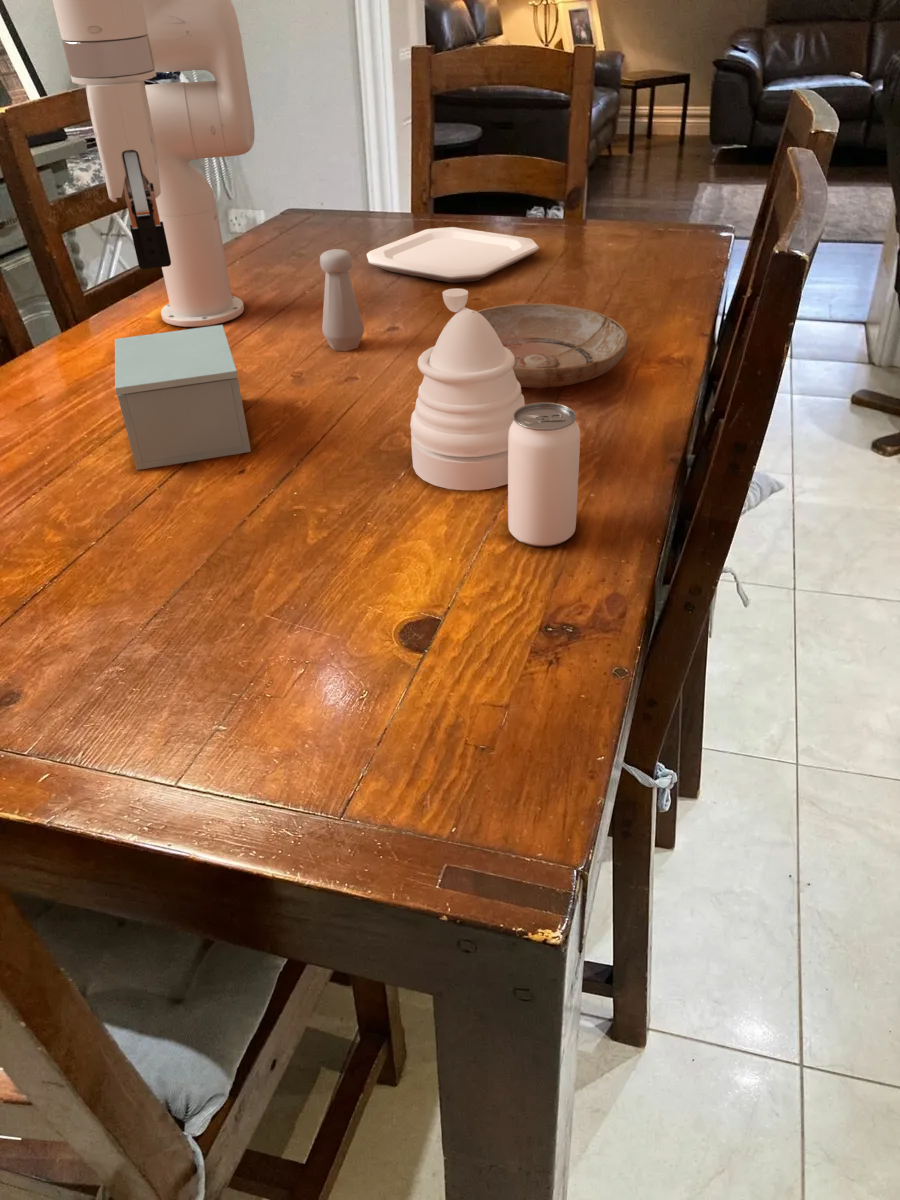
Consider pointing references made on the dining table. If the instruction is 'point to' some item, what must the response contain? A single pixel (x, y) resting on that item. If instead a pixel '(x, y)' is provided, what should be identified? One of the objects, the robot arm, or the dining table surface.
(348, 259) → the salt shaker
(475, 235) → the plate
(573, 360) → the ceramic bowl
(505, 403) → the honey pot
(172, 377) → the lid
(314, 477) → the dining table surface
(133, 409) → the chest
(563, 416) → the can
